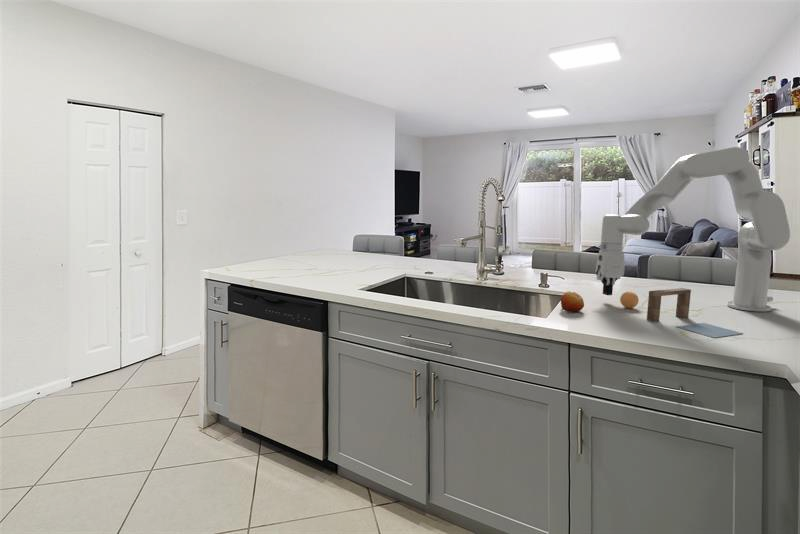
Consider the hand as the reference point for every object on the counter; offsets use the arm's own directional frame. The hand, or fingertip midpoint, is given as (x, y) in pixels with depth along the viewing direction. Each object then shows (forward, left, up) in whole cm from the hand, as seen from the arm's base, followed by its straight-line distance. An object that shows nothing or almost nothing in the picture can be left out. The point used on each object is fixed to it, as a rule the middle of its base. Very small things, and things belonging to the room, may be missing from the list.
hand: (607, 294), depth 173 cm
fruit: (+23, +7, -3) cm, 24 cm away
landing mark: (0, +40, -3) cm, 40 cm away
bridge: (0, +26, -3) cm, 26 cm away
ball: (0, +10, 0) cm, 10 cm away
